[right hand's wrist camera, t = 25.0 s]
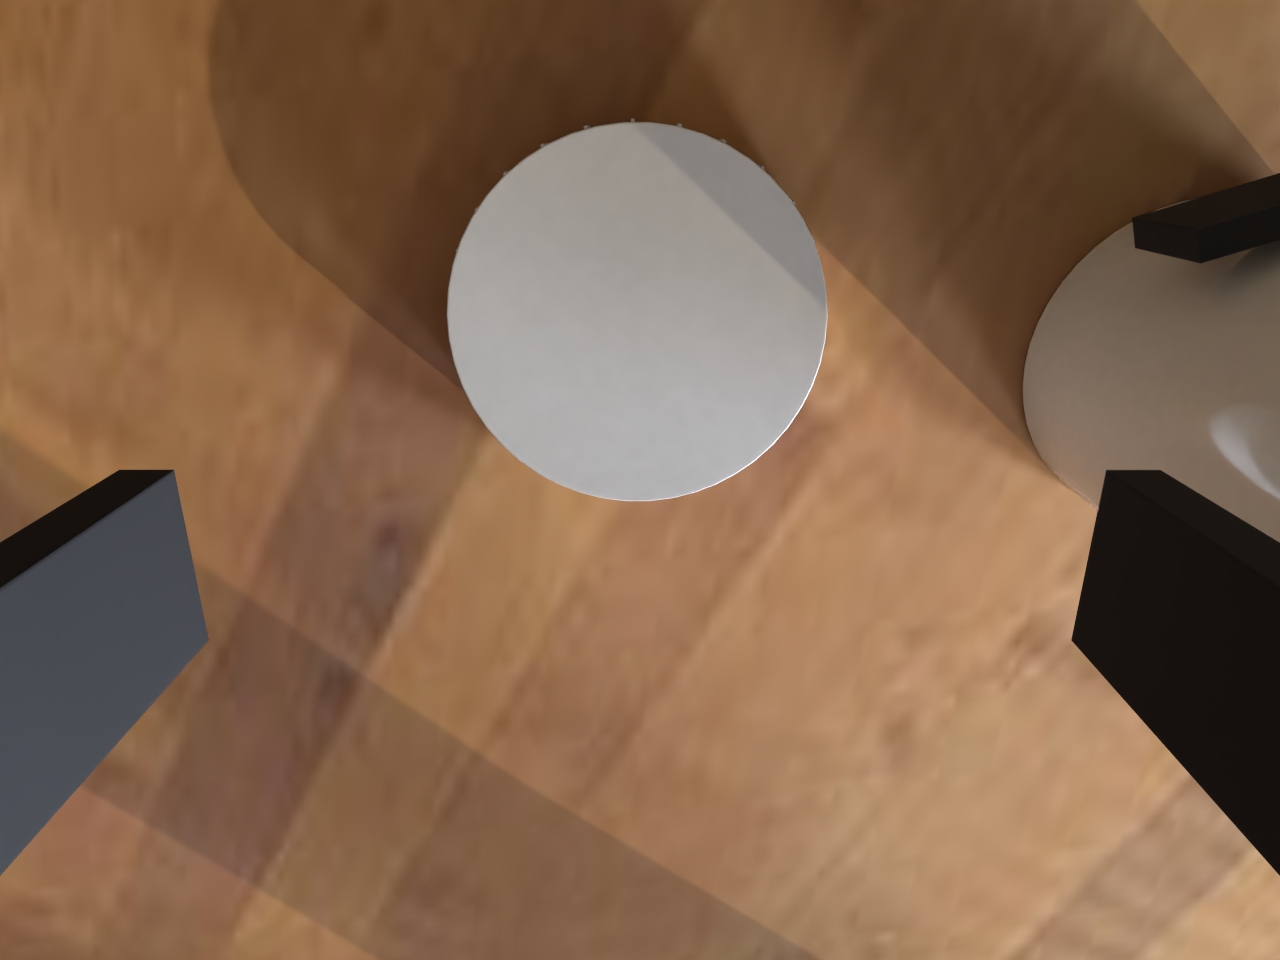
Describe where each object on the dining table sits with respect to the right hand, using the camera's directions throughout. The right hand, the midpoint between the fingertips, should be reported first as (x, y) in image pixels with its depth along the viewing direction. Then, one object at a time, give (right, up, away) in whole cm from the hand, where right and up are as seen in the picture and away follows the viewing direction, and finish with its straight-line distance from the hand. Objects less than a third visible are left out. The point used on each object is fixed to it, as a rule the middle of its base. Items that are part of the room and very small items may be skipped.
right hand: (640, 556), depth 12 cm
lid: (0, +6, +13) cm, 14 cm away
